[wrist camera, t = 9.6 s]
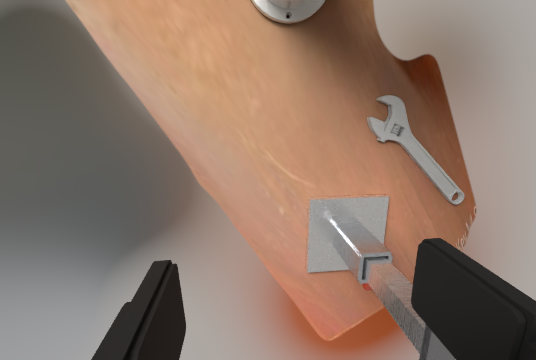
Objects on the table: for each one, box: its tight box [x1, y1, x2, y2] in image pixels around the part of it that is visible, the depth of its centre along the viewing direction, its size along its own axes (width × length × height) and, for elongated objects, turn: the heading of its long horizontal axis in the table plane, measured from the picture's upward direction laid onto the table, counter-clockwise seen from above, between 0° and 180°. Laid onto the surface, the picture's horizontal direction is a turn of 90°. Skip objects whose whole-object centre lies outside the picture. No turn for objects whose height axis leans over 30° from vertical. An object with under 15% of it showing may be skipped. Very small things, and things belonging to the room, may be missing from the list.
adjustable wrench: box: [367, 95, 464, 205], centre depth 45 cm, size 25×6×2 cm, turn 42°
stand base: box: [305, 194, 393, 290], centre depth 43 cm, size 14×14×12 cm
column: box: [362, 256, 455, 360], centre depth 33 cm, size 4×3×18 cm
